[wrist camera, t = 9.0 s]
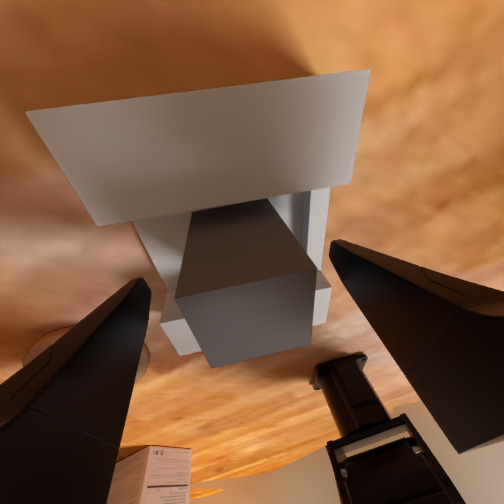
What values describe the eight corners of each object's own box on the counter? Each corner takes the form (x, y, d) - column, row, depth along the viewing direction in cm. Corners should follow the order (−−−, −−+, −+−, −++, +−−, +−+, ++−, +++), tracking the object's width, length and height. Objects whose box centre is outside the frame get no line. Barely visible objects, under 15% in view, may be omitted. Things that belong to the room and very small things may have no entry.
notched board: (307, 290, 16) (325, 323, 13) (185, 316, 15) (179, 356, 13) (323, 84, 9) (370, 68, 6) (85, 114, 8) (23, 111, 5)
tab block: (272, 257, 13) (310, 344, 8) (211, 270, 12) (211, 368, 7) (267, 198, 10) (317, 267, 5) (192, 212, 10) (174, 299, 5)
